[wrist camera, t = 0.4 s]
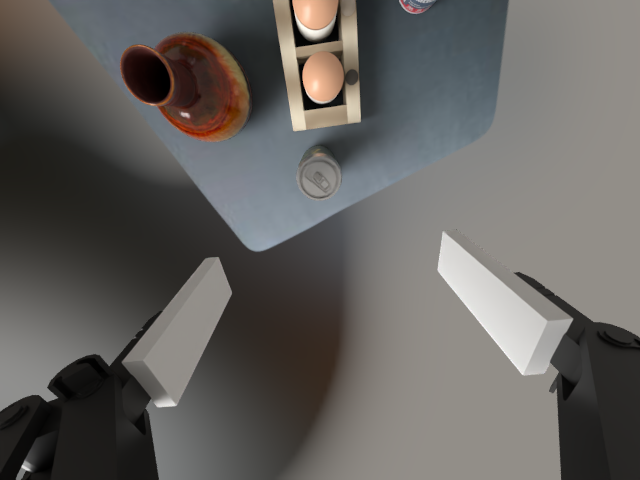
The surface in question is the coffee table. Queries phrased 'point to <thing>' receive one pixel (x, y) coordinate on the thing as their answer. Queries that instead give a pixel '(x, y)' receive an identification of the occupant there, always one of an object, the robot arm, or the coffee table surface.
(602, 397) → the robot arm
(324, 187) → the beer can
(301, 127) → the wooden egg tray
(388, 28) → the coffee table surface
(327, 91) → the button
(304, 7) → the button
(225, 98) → the vase
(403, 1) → the pill bottle
